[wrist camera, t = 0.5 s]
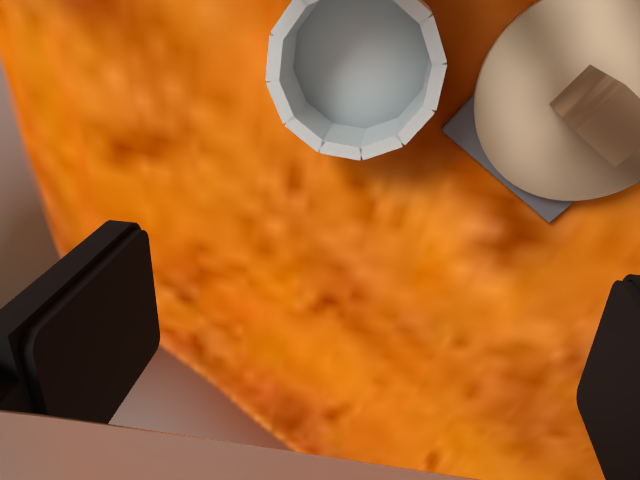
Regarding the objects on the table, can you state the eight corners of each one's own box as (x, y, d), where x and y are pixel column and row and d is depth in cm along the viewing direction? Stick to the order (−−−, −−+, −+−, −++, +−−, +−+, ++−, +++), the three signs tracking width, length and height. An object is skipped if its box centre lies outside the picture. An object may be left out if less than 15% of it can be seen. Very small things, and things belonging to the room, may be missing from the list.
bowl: (350, -66, 32) (340, -71, 27) (474, 47, 33) (483, 59, 29) (256, 70, 36) (234, 85, 32) (370, 163, 38) (364, 189, 33)
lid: (597, -74, 29) (646, -84, 23) (751, 82, 31) (833, 111, 25) (430, 110, 35) (433, 141, 29) (570, 231, 37) (600, 283, 31)
